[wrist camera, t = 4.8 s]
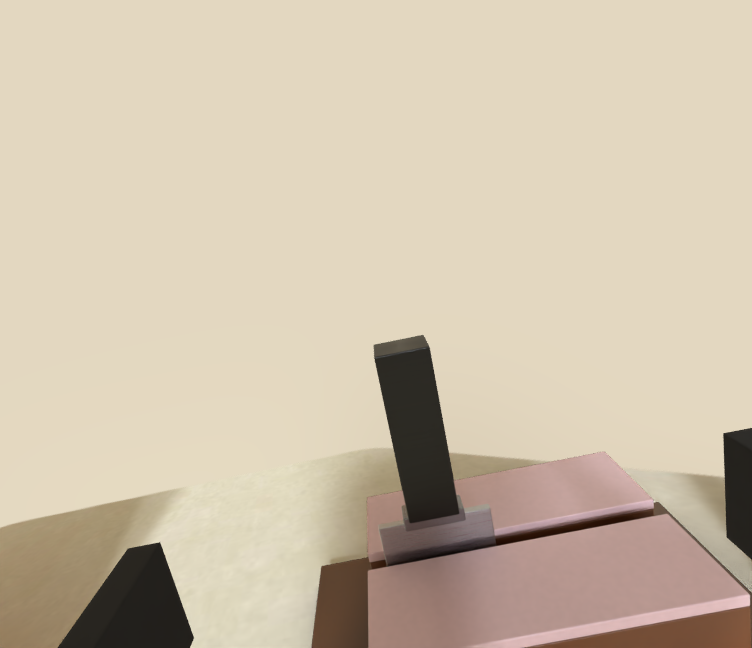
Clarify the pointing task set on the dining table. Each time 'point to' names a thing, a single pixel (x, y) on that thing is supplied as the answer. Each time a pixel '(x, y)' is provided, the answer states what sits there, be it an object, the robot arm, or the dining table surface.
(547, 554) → the cake
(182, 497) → the dining table surface
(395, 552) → the dark upright knife handle
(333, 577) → the cake board
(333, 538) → the dining table surface
